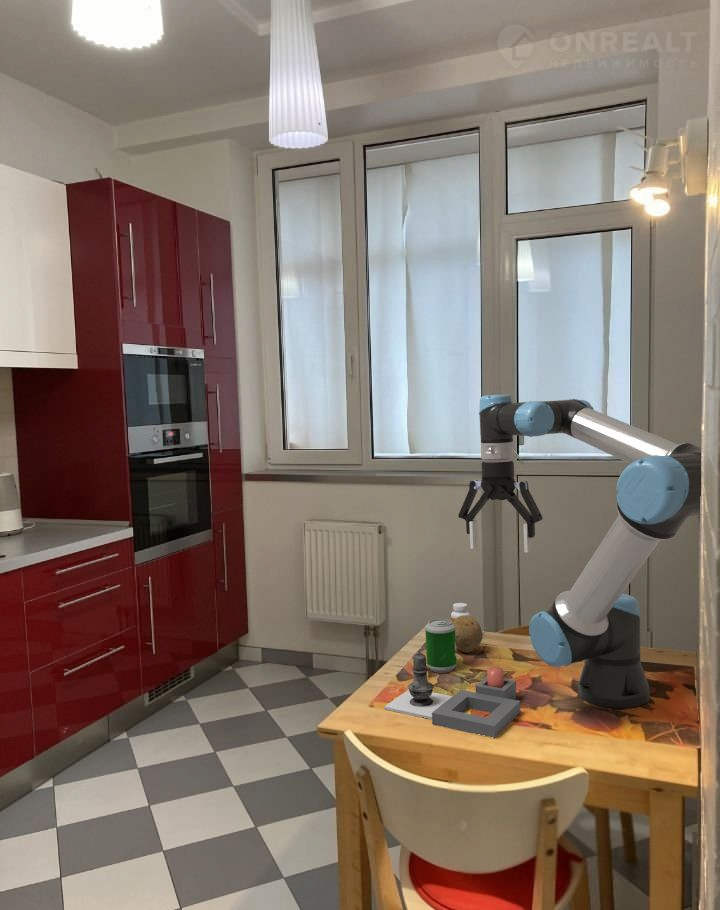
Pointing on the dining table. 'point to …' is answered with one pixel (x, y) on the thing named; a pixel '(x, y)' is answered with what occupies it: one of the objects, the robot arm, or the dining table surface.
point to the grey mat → (405, 707)
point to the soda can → (441, 645)
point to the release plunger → (495, 677)
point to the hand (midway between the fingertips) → (500, 549)
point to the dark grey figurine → (420, 682)
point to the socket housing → (484, 700)
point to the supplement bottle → (459, 611)
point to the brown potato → (467, 633)
